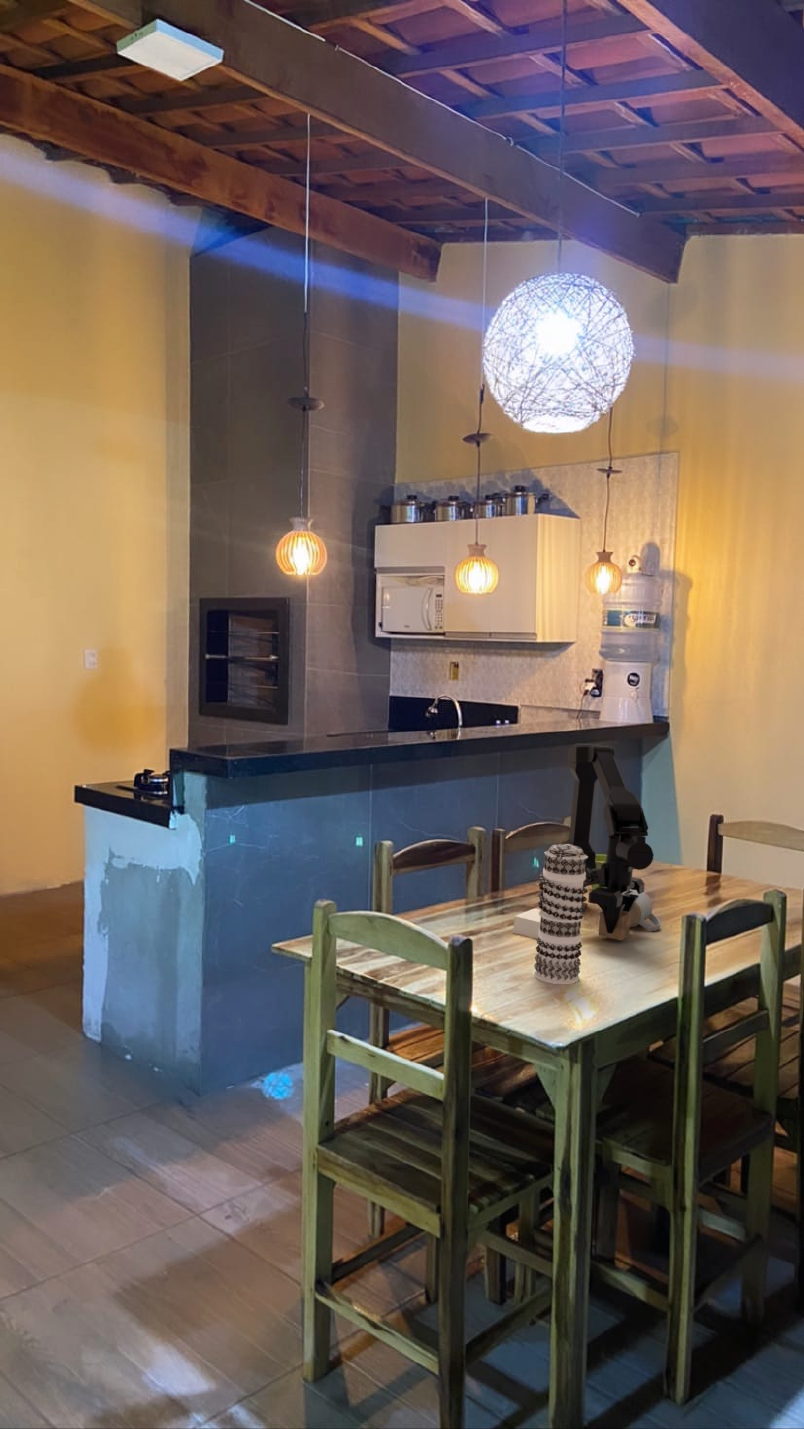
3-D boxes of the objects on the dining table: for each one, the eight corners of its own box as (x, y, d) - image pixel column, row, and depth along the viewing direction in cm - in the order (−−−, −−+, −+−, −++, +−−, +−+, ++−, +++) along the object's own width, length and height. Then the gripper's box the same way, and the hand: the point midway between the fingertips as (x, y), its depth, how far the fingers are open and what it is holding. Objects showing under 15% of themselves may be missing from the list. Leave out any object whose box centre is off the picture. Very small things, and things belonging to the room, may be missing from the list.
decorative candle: (543, 965, 199) (552, 839, 197) (588, 975, 194) (598, 846, 192) (524, 977, 191) (533, 846, 189) (570, 988, 186) (580, 854, 184)
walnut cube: (606, 930, 222) (608, 907, 222) (628, 934, 220) (630, 912, 219) (598, 935, 218) (600, 912, 218) (621, 940, 215) (622, 916, 215)
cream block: (533, 925, 227) (534, 908, 227) (569, 934, 222) (571, 916, 222) (513, 934, 220) (514, 916, 220) (550, 943, 215) (551, 925, 215)
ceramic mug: (608, 925, 231) (611, 892, 230) (619, 917, 238) (622, 885, 237) (654, 935, 225) (657, 901, 225) (664, 927, 233) (667, 894, 232)
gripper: (599, 846, 230) (594, 914, 231) (567, 859, 214) (562, 932, 215) (647, 854, 224) (642, 923, 225) (618, 868, 208) (612, 943, 209)
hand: (614, 930), depth 219 cm, fingers closed on walnut cube, 5 cm apart
